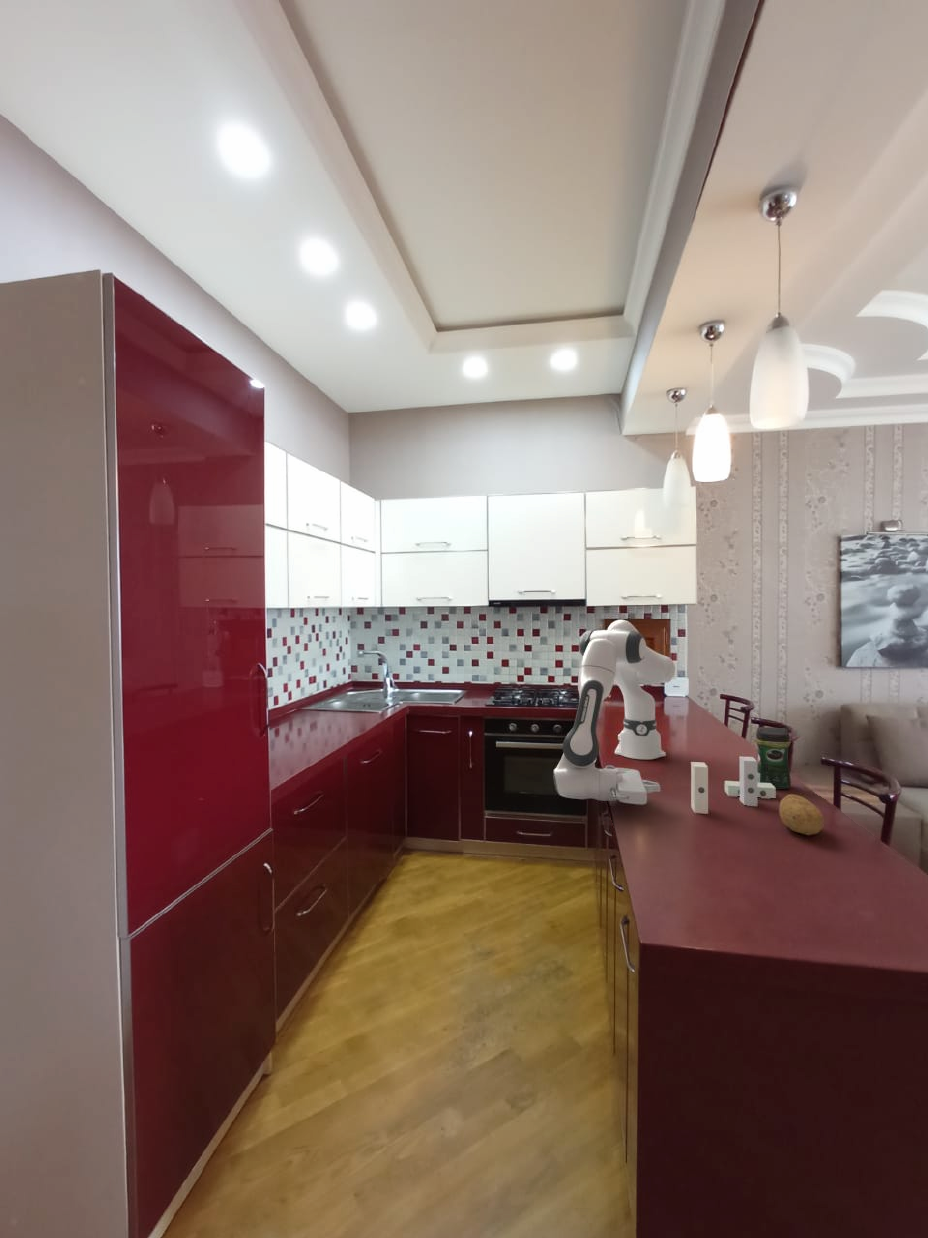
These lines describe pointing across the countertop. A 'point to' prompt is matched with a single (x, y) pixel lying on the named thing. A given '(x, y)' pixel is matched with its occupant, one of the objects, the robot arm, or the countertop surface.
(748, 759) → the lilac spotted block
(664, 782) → the countertop surface
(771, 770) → the coffee jar
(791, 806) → the potato
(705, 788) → the one-pip tile
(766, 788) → the white block
